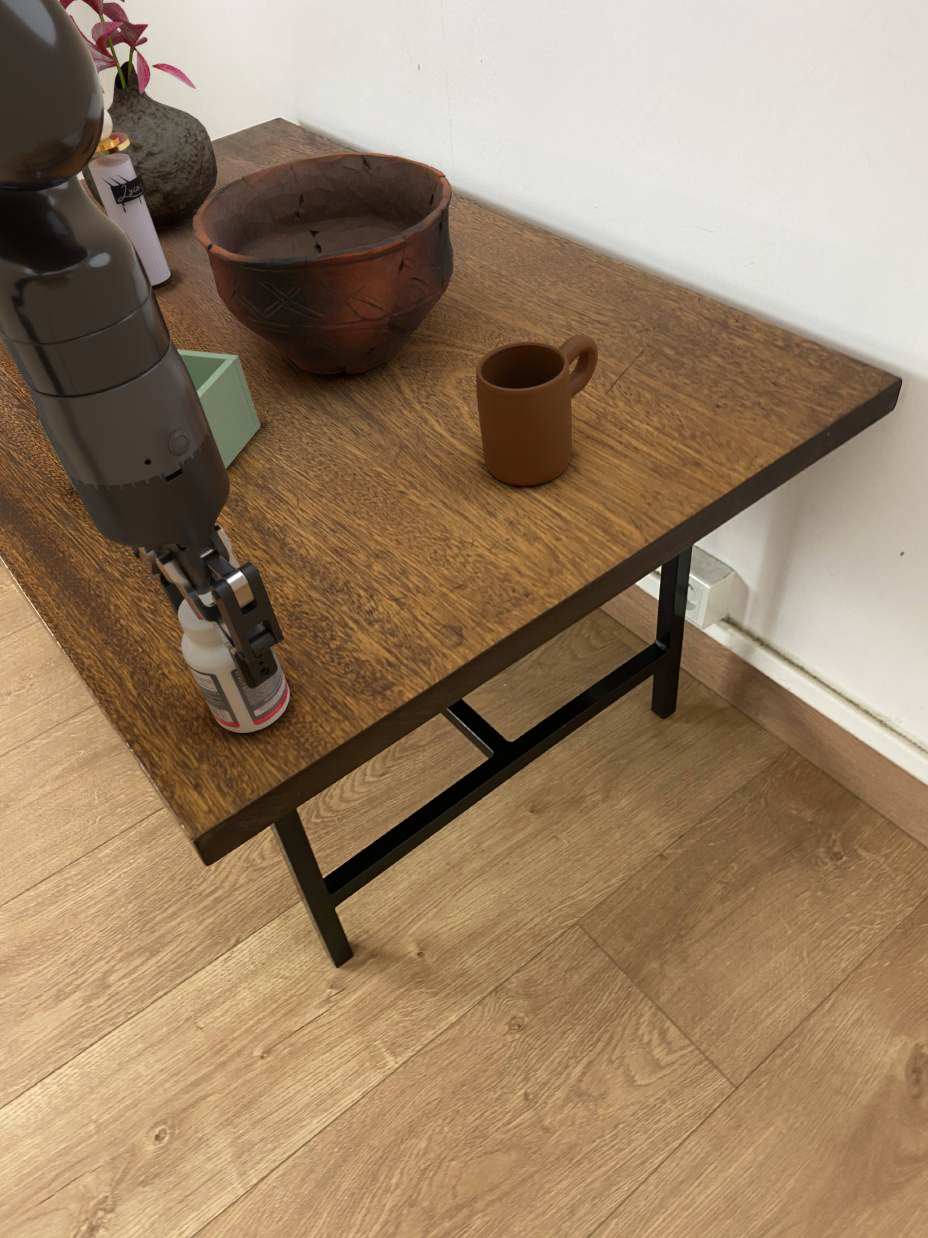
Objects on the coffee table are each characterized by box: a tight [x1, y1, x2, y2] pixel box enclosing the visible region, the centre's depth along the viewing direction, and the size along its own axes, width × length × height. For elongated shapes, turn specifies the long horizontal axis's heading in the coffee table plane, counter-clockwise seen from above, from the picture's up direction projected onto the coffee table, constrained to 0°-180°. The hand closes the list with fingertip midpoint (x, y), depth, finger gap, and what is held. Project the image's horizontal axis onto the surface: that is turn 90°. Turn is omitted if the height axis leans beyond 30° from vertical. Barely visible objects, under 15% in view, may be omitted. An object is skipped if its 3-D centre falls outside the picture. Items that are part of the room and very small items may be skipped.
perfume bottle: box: [88, 107, 172, 287], centre depth 103 cm, size 6×6×20 cm
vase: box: [58, 0, 219, 230], centre depth 113 cm, size 17×18×30 cm
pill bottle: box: [177, 591, 291, 734], centre depth 59 cm, size 5×5×10 cm
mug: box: [475, 333, 599, 486], centre depth 75 cm, size 12×8×9 cm, turn 130°
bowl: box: [192, 152, 454, 375], centre depth 90 cm, size 25×25×15 cm
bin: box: [38, 348, 261, 492], centre depth 81 cm, size 13×13×8 cm
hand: (228, 645), depth 58 cm, fingers open, 7 cm apart
